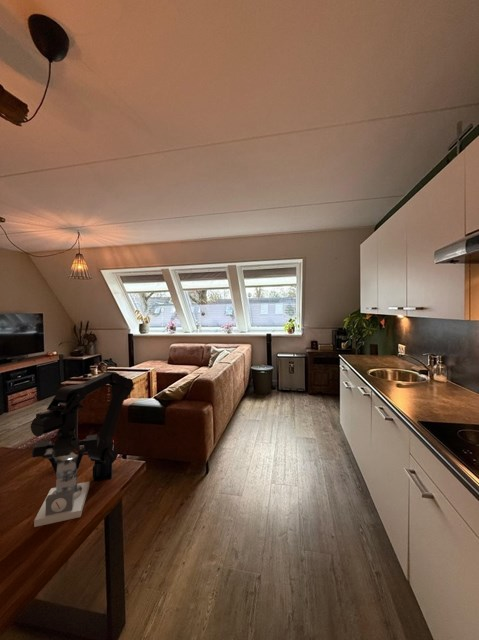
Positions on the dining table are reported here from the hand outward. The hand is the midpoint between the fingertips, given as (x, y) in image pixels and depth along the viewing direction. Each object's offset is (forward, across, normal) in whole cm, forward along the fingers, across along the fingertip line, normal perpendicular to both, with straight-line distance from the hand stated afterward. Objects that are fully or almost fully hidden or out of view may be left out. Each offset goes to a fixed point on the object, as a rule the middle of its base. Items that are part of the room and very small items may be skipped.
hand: (67, 470), depth 89 cm
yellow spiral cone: (+11, -6, +26) cm, 29 cm away
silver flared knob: (+1, 0, 0) cm, 1 cm away
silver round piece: (+8, 0, 0) cm, 8 cm away
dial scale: (+10, 0, -2) cm, 11 cm away
